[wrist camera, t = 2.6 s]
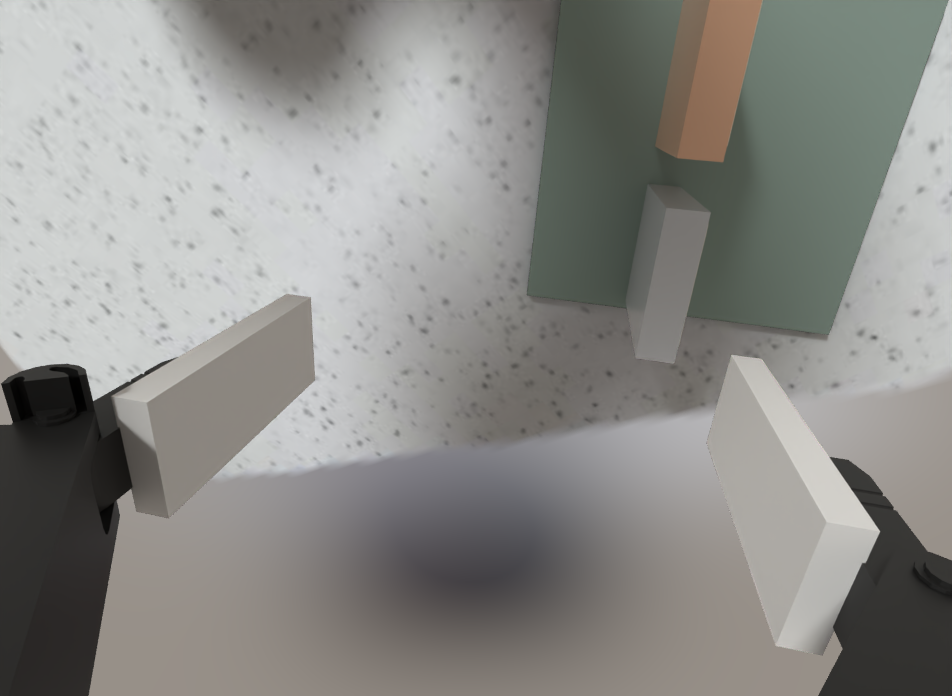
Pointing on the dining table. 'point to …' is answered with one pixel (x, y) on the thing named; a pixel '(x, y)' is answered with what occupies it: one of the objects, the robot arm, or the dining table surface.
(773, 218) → the mat
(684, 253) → the white flat block
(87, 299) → the dining table surface
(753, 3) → the terracotta tile
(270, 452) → the dining table surface
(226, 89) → the dining table surface
